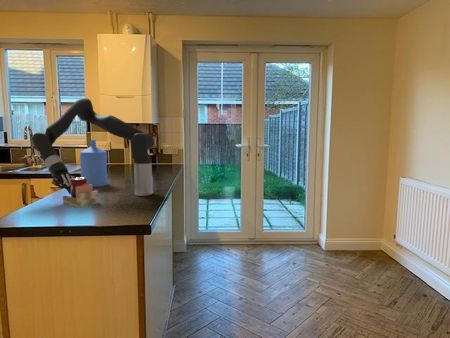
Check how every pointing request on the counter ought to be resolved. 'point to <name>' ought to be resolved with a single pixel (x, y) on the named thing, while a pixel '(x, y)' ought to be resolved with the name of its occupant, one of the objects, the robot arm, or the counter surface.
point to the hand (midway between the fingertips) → (73, 193)
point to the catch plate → (84, 189)
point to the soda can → (77, 184)
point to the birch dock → (82, 199)
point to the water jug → (94, 165)
